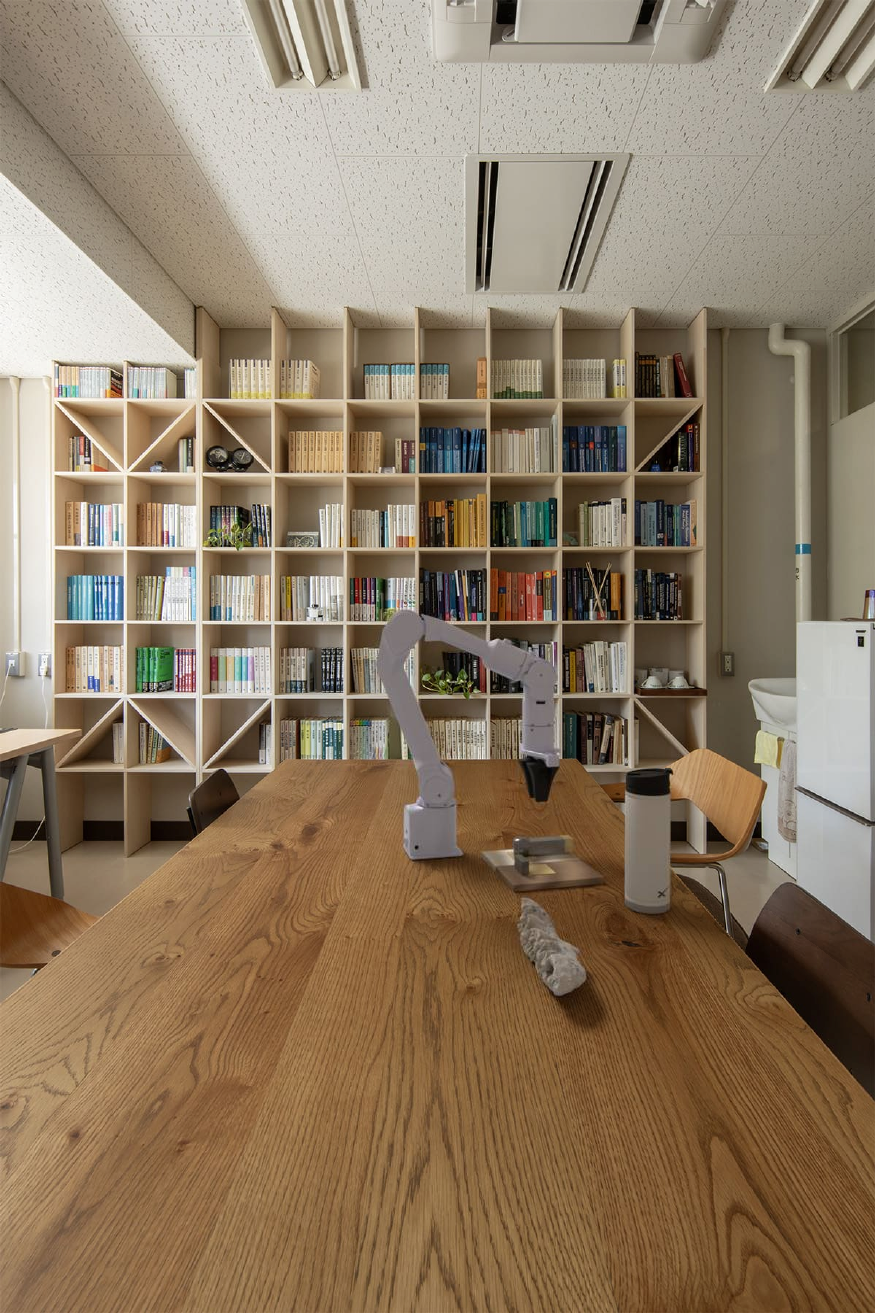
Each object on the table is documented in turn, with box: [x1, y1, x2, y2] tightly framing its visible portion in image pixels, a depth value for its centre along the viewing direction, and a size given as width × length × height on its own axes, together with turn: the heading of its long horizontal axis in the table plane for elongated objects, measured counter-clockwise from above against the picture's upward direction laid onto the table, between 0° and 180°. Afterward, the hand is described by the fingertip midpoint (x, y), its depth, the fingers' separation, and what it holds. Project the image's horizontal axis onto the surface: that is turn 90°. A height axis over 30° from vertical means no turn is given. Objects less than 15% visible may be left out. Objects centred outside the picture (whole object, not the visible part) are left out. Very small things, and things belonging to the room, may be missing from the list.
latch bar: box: [512, 834, 574, 857], centre depth 122 cm, size 10×3×3 cm, turn 103°
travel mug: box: [624, 767, 674, 915], centre depth 101 cm, size 6×7×20 cm
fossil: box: [516, 897, 587, 997], centre depth 83 cm, size 21×6×5 cm, turn 6°
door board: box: [481, 848, 605, 893], centre depth 117 cm, size 15×17×3 cm
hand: (538, 799), depth 127 cm, fingers open, 2 cm apart
